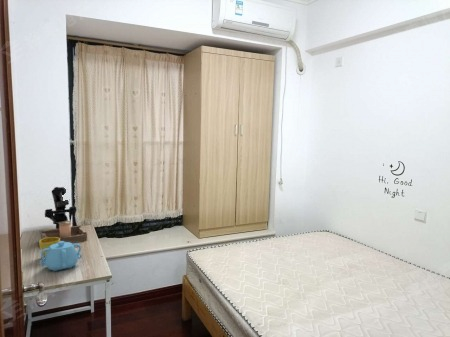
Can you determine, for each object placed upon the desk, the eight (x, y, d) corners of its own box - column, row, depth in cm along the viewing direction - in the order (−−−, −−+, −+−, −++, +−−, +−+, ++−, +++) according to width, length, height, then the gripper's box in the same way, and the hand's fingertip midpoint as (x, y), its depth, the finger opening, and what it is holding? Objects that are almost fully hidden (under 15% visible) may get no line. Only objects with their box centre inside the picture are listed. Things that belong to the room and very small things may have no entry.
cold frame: (41, 239, 204) (41, 231, 203) (80, 233, 219) (80, 225, 219) (46, 247, 191) (46, 237, 191) (87, 239, 207) (87, 231, 206)
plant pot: (53, 260, 172) (53, 243, 171) (35, 259, 172) (35, 242, 171) (64, 253, 182) (63, 237, 181) (46, 252, 183) (46, 236, 182)
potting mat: (59, 245, 195) (59, 244, 195) (76, 242, 202) (76, 241, 202) (62, 249, 188) (62, 249, 188) (80, 246, 194) (80, 246, 194)
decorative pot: (62, 275, 154) (61, 249, 153) (36, 270, 158) (35, 244, 157) (85, 263, 170) (85, 239, 168) (61, 259, 174) (60, 235, 173)
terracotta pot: (58, 240, 204) (57, 221, 202) (70, 238, 208) (69, 220, 207) (60, 243, 198) (60, 224, 197) (72, 241, 203) (72, 222, 202)
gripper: (44, 197, 202) (48, 217, 195) (75, 194, 214) (80, 213, 207) (43, 207, 209) (46, 226, 202) (73, 204, 221) (77, 222, 214)
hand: (62, 222), depth 206 cm, fingers open, 9 cm apart
